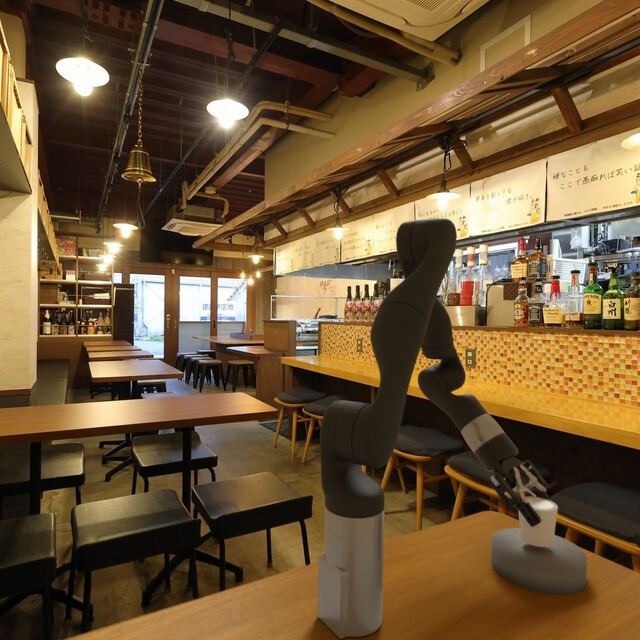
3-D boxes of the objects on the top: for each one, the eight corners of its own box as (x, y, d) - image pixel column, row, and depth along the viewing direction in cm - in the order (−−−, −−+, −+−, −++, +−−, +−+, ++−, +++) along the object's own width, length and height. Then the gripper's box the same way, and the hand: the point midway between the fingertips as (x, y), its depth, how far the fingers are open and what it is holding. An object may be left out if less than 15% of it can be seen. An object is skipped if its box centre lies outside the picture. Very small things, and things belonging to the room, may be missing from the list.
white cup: (522, 527, 90) (523, 492, 90) (560, 538, 85) (561, 502, 85) (512, 540, 84) (512, 503, 84) (552, 553, 80) (553, 513, 80)
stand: (557, 605, 74) (557, 581, 74) (474, 561, 87) (474, 541, 87) (603, 576, 83) (603, 554, 83) (521, 540, 96) (521, 521, 96)
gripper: (482, 437, 86) (544, 520, 77) (518, 426, 95) (577, 499, 86) (457, 458, 90) (513, 539, 81) (494, 446, 99) (547, 517, 90)
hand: (546, 518), depth 84 cm, fingers closed on white cup, 7 cm apart
